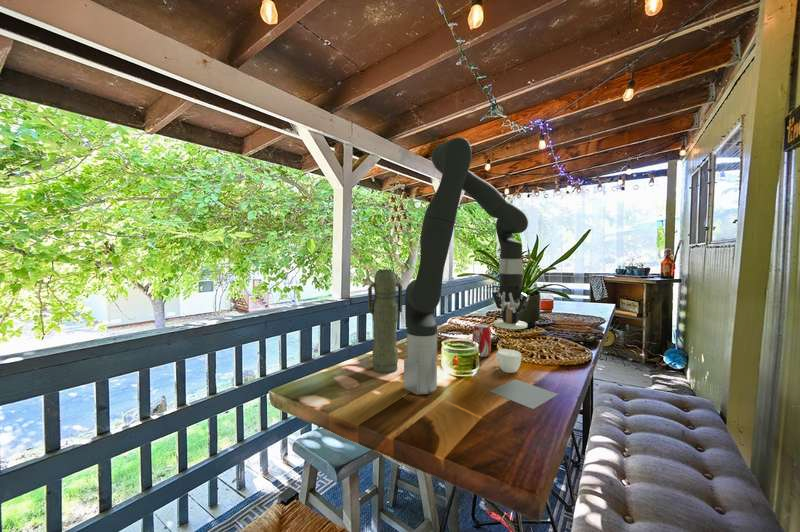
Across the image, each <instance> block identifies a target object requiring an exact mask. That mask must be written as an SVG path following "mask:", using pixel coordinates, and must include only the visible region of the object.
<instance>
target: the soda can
mask: <svg viewBox="0 0 800 532" xmlns="http://www.w3.org/2000/svg"><path fill="white" fill-rule="evenodd" d="M473 341H475V342H477V343H478V344H479V353H480V357H479V358H487V357H488V356H490V355H491V351H492V350H491V349H492V348H491V347H492V346H491V345H492V330H491V328H490V325H489V324H486V323H475V324H474V326H473V328H472V342H473Z"/></svg>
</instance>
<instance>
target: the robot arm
mask: <svg viewBox="0 0 800 532" xmlns="http://www.w3.org/2000/svg"><path fill="white" fill-rule="evenodd" d="M472 154H473V152H472V146H471V144H470V142H469V140H468V139H466V138H464V137H462V136H461V137H452V138H450V139H448V140H446V141H444V142H440V143H439V144H438V145H436V146H435V147H434V148H433V150H432V152H431V161H432V165H433V166H434V168H435V169H436V170H437V171H438V172H440V174H441V179H440V182H439V184H438V185H439V186H438V187H437V190H436V191H435V193H434V195H433V197H432V198H431V200H430V201H429V204H428V205H427V208H426V210H425V213H424V216H423V221H422V225H421V230H420V239H419V242H420V243H419V244H420V245H419V247H420V250H419V251H420V260H419V261H420V262H419V266H418V270H417V275H416V278H415V279H413V280H412V281H410V282H409V284H407V286H406V289H405V293H404V295H405V296H404V304H405V305H404V312H405V317H404V319H405V324H406V357H404V358H403V389H404V390H406V391H408V392H410V393H412V394H414V395H416V396H418V395H429V394H432V393H433V392H434V391H435V390H437V387H438V385H437V383H438V381H437V380H438V324H437V323H438V322H437V320H436V315H435V309H436V308H437V306H438V305H439V303H440V301H441V296H442V287H443V279H444V278H443V277H444V271H445V265H446V261H447V257H448V254H449V250H450V244H451V242H452V241H451V240H452V237H453V233H454V228H455V224H456V217H457V213H458V208H459V204H460V200H461V196H462V190H463V191H464V192H466V194H467V195H469V197H471V198H472V199H473V200H474V201H475V202H476V203H477V204H478V205H479V206H480V207H481V209H483V211H484V212H485V213H487V215H489V216H490V217H491V218H494V219H496V222H495V231H496V234H497V239H498V243H499V245H500V247H499V248H500V249H499V253H500V256H499V257H500V259H499V264H498V265H499V266H498V269H499V270H498V272H499V273H498V274H499V275H498V277H499V278H498V280H499V281H498V282H499V283H498V284H499V289H498V290H497V291H492V292H491V294H492V297H493V300H494V303H495V305H496V308H497V309H500V310H501V320H503V322H506V308H510V307H509V305H510V306H511V308H512V311H513V313H512V324H516V323H517V322H518V321H520V316H519V315H520V312H525V310H526V307H527V305H528V303H529V301H530V299H531V295H527V294H526V293H524V291H523V288H522V287H523V278H524V277H523V276H524V275H523V273H524V272H523V271H524V268H523V267H524V266H523V265H524V264H523V244H522V242H521V241H518V240H516V239H514V234H515V235H516V234H521V233H524V232H525V231H526V230H527V228H528V226H529V221H528V217H527V215H526V214H525V213H524V211H522V210H521V209H520V208H518V207H517V206H515V205H514V204H512V203H511V202H509V201H507V200H506V198H504V196H503V195H502V194H501V192H499V191H498V189H496V187H494V186H493V185H492V184H490V183H489V182H488V181H486V180H484V179H483V178H481V177H479V176H478V175H476V174H474V173H473V172H472V171H470V169H469V168H470V167H471V163H472V157H473V155H472ZM520 300H521V301H520Z"/></svg>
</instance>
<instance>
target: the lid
mask: <svg viewBox="0 0 800 532" xmlns="http://www.w3.org/2000/svg"><path fill="white" fill-rule="evenodd" d="M512 313H513V311H512V307H508V308H506V322H503V320H502V319H496V320H493V326H494V327H497V328H501V329H505V330H524V329H526V328H528V323H527V322H526V321H522V320H519V321H518V322H517V323H516V324H512Z"/></svg>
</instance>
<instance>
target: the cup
mask: <svg viewBox="0 0 800 532" xmlns="http://www.w3.org/2000/svg"><path fill="white" fill-rule="evenodd" d="M495 358H496V361H497V363H498V366H499V368H500V370H501V371H503V372H504V373H508V374H509V373H511V374H512V373H513V374H515V373H517V371H518V370H519V368H520V366H521V362H522V353H521V352H520V351H518V350H515V349H508V348H507V349H506V348H505V349H499V350H497V352H496V353H495Z"/></svg>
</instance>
